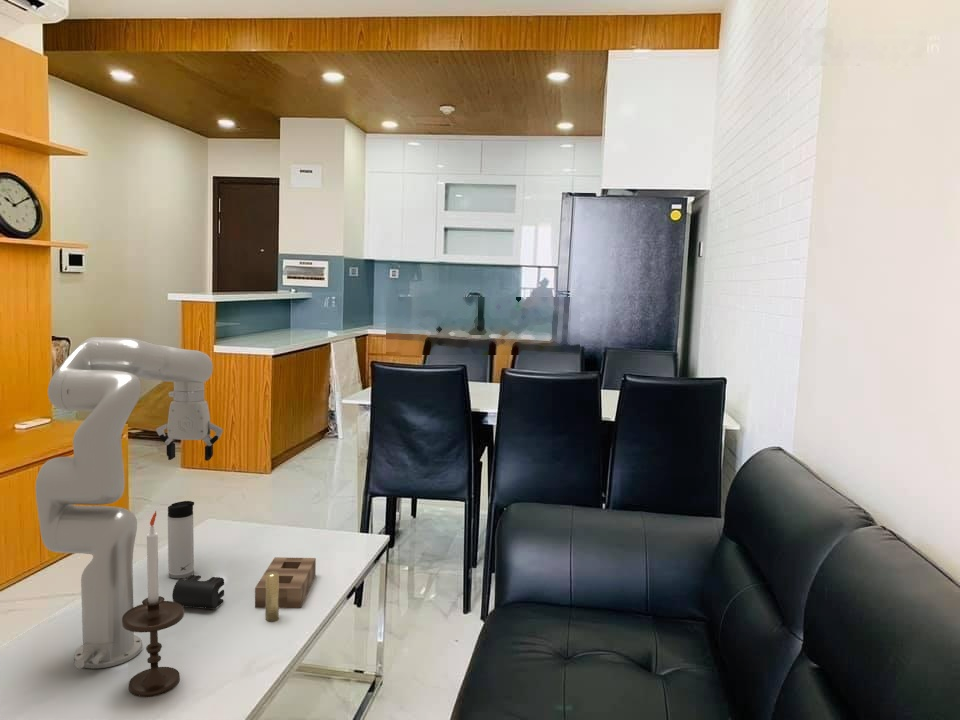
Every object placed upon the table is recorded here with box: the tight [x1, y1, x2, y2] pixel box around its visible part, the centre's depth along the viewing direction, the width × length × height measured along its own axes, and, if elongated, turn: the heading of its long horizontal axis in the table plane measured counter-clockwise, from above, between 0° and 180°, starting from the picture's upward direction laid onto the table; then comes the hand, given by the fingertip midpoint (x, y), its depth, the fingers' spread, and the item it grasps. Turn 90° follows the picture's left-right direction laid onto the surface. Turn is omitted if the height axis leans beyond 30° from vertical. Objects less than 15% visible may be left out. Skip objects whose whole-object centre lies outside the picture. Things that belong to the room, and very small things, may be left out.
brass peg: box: [264, 571, 280, 623], centre depth 163 cm, size 3×3×11 cm
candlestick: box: [122, 510, 185, 698], centre depth 134 cm, size 11×11×35 cm
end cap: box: [172, 574, 225, 610], centre depth 168 cm, size 10×7×7 cm
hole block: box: [254, 556, 317, 609], centre depth 178 cm, size 19×11×5 cm, turn 3°
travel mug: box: [167, 500, 195, 579], centre depth 185 cm, size 6×7×20 cm
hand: (190, 459), depth 187 cm, fingers open, 9 cm apart
